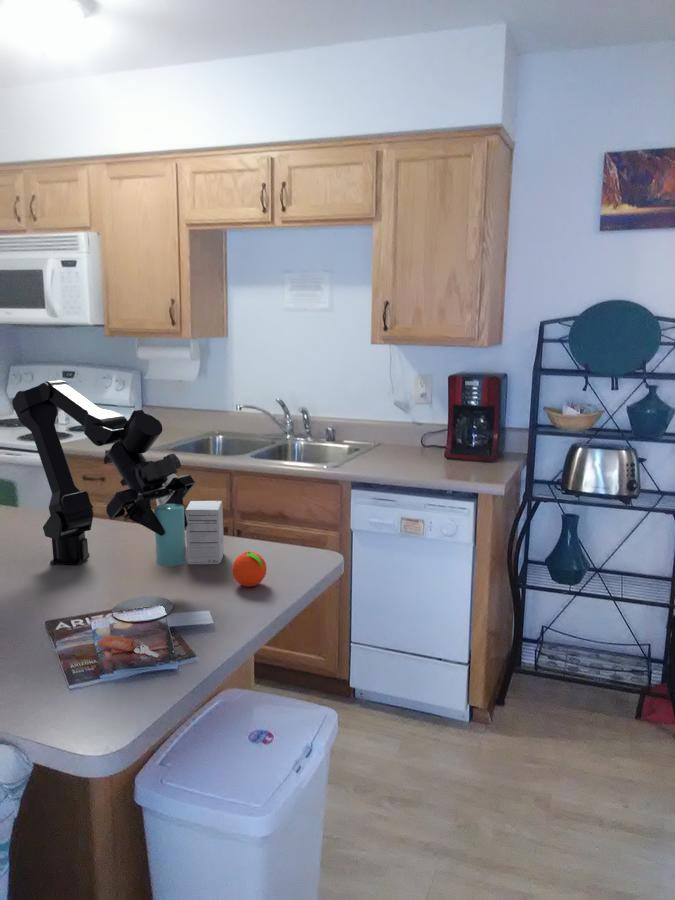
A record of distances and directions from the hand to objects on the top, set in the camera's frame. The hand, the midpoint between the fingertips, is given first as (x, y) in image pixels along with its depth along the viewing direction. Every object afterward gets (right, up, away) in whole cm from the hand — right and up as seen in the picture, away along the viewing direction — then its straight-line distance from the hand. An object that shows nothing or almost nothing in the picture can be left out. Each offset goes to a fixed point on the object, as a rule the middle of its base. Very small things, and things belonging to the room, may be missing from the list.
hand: (174, 530), depth 138 cm
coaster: (-5, -14, -5) cm, 16 cm away
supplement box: (+2, -9, +22) cm, 24 cm away
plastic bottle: (-8, -8, +30) cm, 32 cm away
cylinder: (-1, -6, +2) cm, 7 cm away
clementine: (+14, -12, +7) cm, 20 cm away
